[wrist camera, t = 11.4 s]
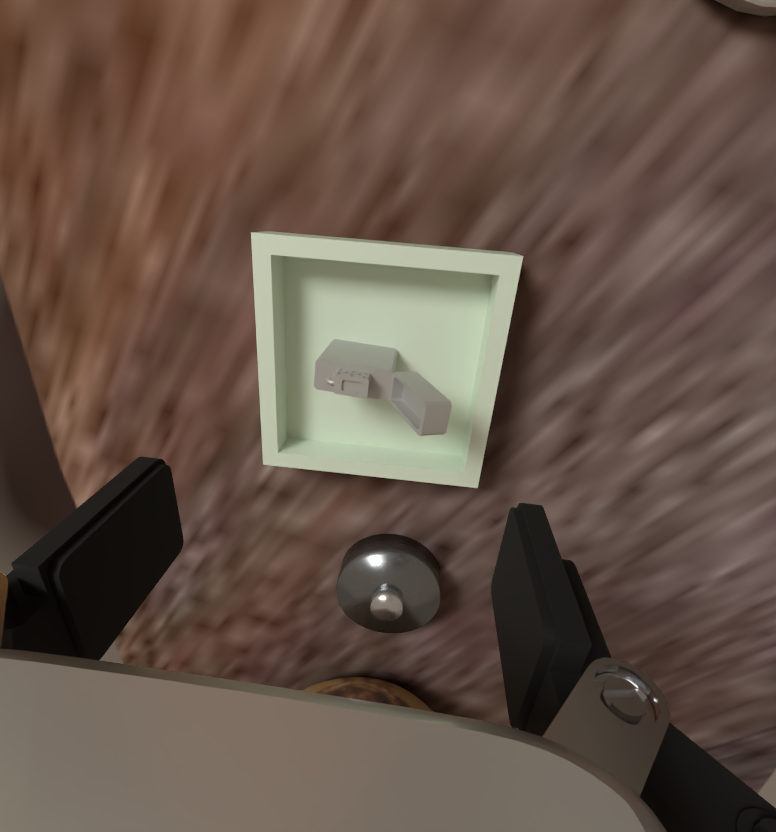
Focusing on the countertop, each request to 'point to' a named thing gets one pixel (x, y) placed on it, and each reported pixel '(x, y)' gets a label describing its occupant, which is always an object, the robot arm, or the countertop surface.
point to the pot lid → (389, 584)
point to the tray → (383, 326)
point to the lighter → (382, 383)
